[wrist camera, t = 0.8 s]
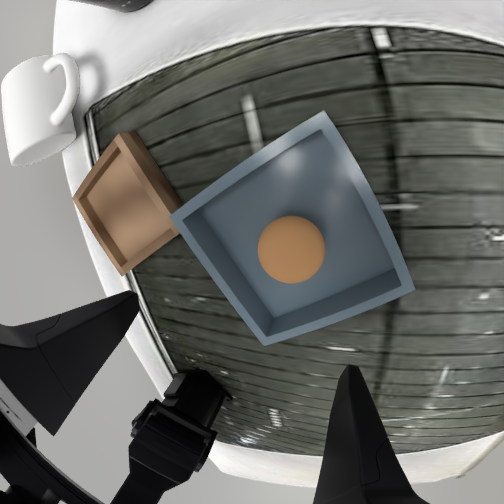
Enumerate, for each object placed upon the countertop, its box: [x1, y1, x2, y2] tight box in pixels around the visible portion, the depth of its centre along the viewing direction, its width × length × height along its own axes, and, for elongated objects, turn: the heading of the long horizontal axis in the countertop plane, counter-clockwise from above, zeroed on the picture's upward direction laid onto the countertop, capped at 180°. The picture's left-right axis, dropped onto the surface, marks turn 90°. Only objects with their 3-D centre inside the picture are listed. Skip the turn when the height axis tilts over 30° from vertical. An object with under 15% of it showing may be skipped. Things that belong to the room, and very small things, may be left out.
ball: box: [258, 216, 325, 284], centre depth 18 cm, size 4×4×4 cm
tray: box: [72, 131, 184, 276], centre depth 23 cm, size 10×10×2 cm
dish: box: [169, 111, 415, 346], centre depth 19 cm, size 13×13×3 cm
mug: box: [1, 53, 80, 167], centre depth 18 cm, size 12×10×8 cm
